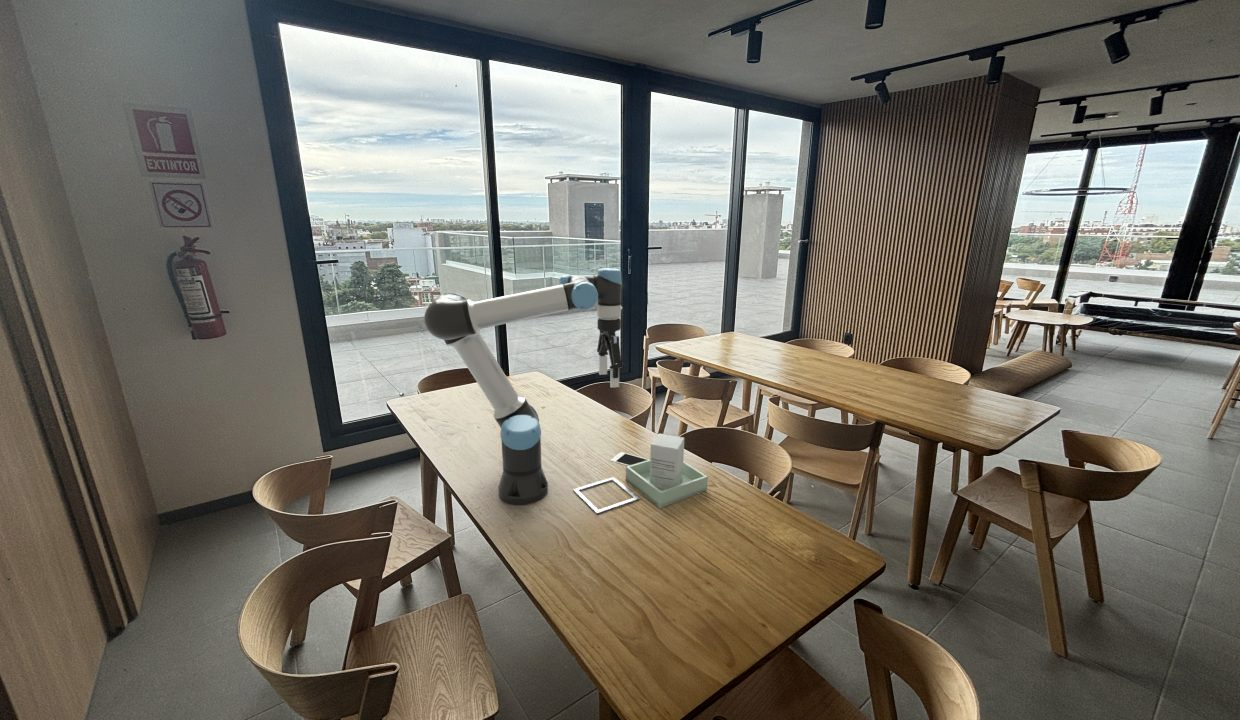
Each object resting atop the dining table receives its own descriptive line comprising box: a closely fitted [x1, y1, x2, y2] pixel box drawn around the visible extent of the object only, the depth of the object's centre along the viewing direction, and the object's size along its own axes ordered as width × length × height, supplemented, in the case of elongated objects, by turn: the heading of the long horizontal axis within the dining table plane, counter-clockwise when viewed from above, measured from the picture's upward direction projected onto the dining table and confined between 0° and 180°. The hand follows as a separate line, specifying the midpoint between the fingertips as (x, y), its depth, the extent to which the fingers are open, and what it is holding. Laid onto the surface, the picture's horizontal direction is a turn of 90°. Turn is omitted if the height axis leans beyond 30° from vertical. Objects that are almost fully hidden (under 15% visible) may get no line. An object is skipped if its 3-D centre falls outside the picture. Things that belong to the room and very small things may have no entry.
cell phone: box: [610, 451, 650, 467], centre depth 173 cm, size 8×16×1 cm, turn 60°
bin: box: [625, 459, 709, 509], centre depth 158 cm, size 19×19×5 cm
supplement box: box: [649, 433, 685, 490], centre depth 156 cm, size 9×9×15 cm
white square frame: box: [573, 476, 640, 515], centre depth 152 cm, size 15×15×1 cm
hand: (608, 380), depth 163 cm, fingers open, 13 cm apart
